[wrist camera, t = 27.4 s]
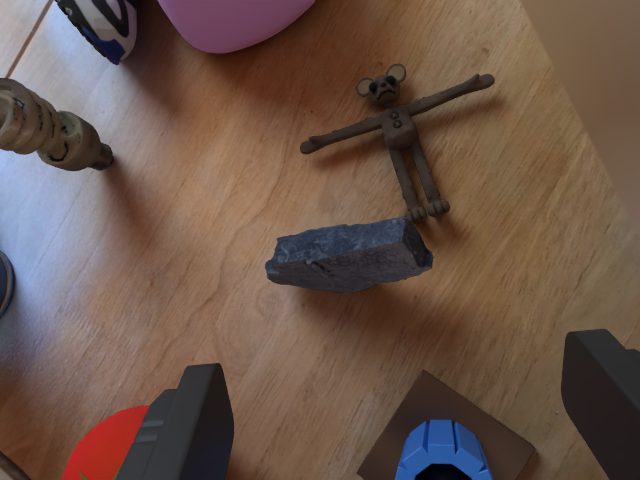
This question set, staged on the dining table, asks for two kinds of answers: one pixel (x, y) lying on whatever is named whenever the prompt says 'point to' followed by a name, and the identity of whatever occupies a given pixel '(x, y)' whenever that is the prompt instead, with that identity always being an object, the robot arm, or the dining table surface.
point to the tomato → (105, 447)
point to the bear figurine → (401, 132)
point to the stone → (350, 256)
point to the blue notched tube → (442, 451)
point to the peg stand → (445, 404)
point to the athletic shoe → (105, 24)
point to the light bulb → (48, 131)
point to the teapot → (231, 21)
